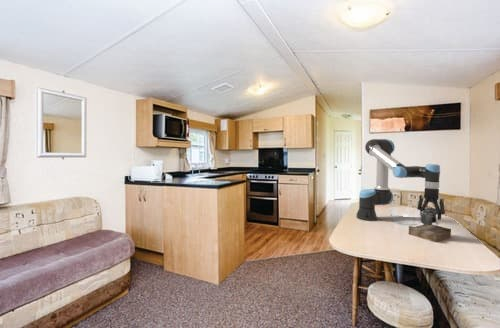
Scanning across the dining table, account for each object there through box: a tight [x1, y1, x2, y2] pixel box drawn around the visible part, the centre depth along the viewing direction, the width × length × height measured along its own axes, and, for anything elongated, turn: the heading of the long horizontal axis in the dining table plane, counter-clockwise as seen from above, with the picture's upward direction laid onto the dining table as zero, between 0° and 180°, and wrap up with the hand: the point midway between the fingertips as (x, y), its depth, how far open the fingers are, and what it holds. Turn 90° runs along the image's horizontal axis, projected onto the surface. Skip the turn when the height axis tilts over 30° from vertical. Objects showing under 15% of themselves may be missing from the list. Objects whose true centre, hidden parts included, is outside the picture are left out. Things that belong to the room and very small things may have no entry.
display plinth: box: [408, 223, 452, 243], centre depth 162 cm, size 16×18×6 cm
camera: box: [420, 206, 437, 225], centre depth 162 cm, size 13×10×10 cm
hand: (430, 222), depth 162 cm, fingers closed on camera, 8 cm apart
